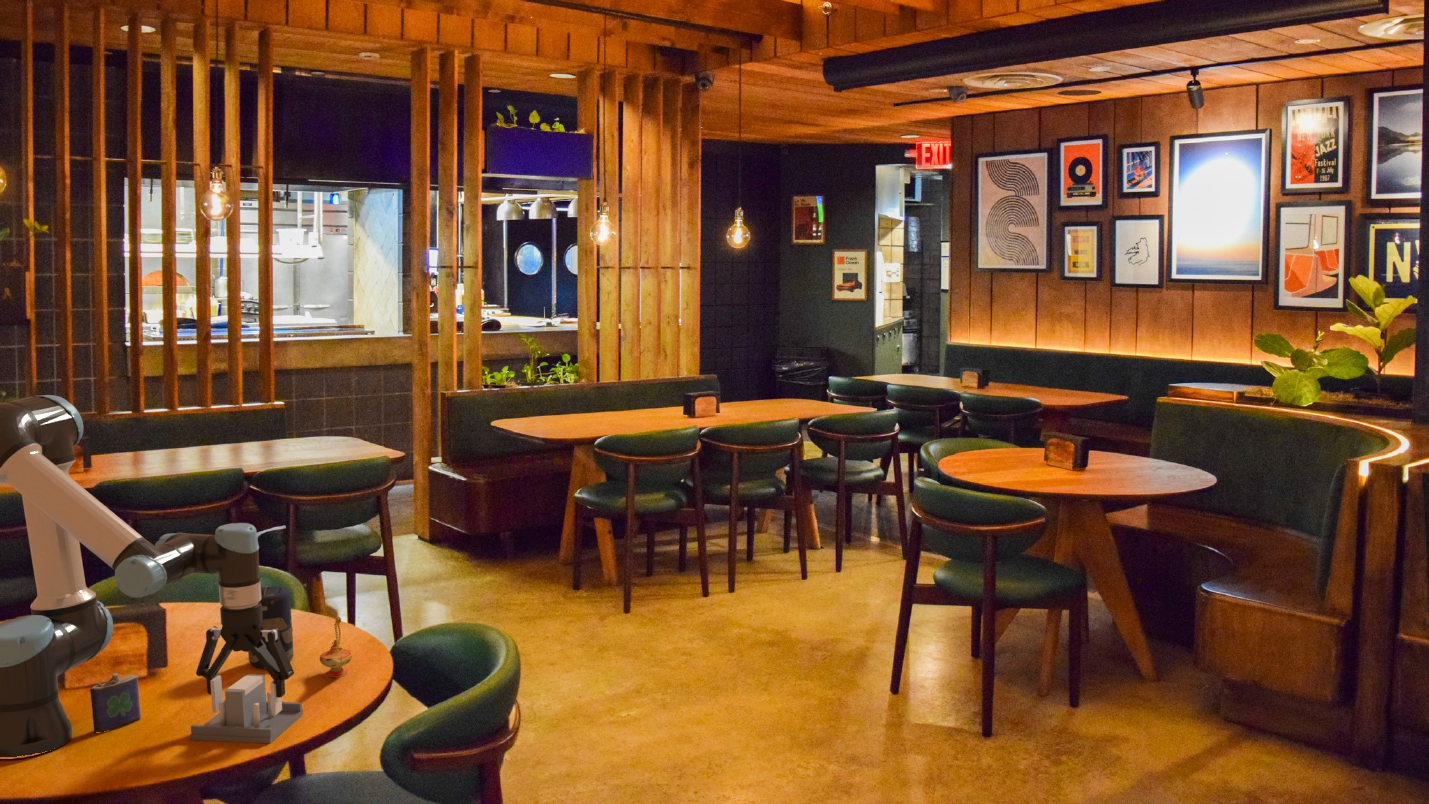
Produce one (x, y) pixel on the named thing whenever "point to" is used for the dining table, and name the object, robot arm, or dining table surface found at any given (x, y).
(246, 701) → the block
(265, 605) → the canister
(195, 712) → the dining table surface
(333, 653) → the magic lamp
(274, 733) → the grey pegged base
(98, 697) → the flask
